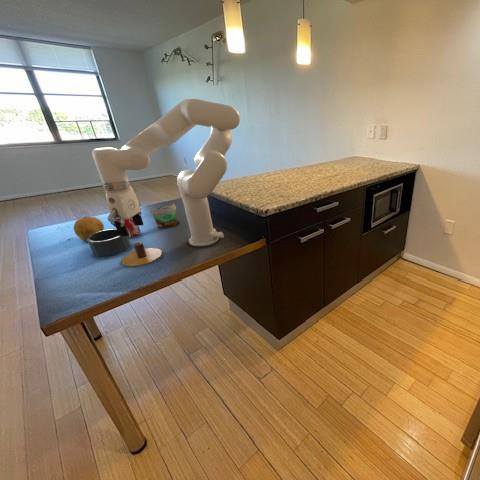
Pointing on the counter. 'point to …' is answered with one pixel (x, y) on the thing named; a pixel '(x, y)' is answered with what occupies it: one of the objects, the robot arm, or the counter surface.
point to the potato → (87, 227)
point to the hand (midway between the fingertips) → (131, 230)
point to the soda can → (131, 228)
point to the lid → (141, 256)
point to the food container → (165, 216)
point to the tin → (108, 243)
